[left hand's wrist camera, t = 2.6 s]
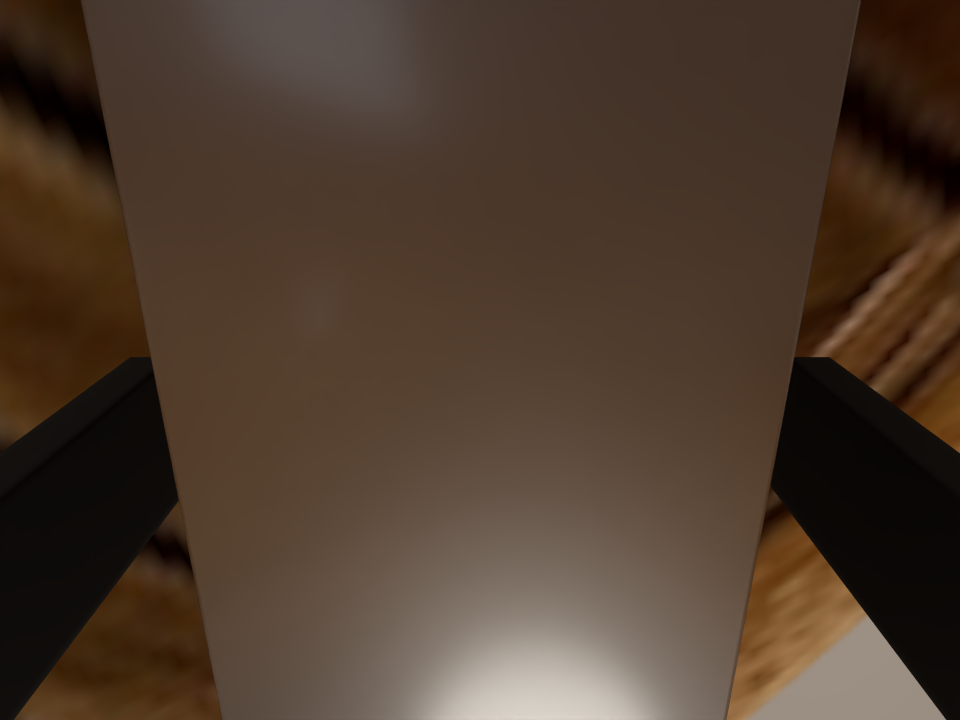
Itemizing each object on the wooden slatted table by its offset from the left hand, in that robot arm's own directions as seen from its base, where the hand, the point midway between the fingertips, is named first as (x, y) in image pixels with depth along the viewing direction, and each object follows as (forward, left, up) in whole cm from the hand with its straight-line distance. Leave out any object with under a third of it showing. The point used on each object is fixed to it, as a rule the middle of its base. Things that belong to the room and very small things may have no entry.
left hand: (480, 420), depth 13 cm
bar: (-6, +10, -2) cm, 12 cm away
